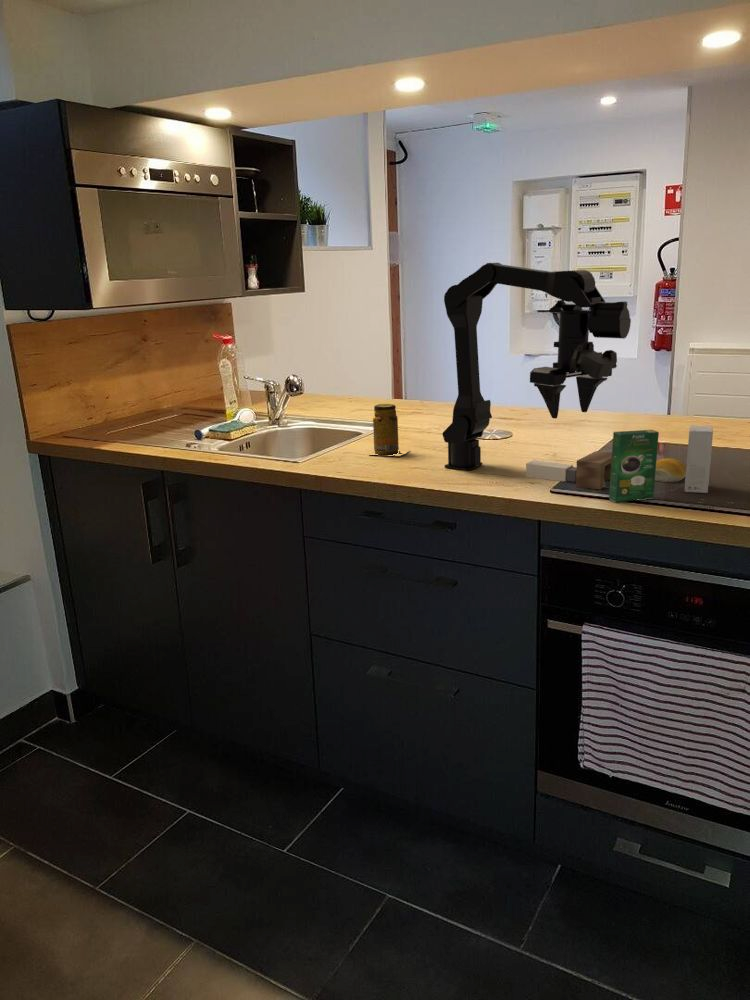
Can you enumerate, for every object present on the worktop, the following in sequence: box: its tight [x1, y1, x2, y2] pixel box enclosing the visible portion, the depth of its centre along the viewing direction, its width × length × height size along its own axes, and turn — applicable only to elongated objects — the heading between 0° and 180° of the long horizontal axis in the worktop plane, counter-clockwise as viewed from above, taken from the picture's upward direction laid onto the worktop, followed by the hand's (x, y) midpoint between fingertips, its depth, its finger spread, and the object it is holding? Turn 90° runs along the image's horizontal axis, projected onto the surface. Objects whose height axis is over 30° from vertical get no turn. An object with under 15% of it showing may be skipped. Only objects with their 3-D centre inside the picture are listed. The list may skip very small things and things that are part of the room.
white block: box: [525, 459, 577, 483], centre depth 165 cm, size 11×4×3 cm, turn 51°
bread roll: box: [655, 457, 686, 483], centre depth 162 cm, size 8×9×4 cm
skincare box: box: [684, 424, 714, 494], centre depth 151 cm, size 6×4×12 cm
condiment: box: [372, 403, 401, 458], centre depth 191 cm, size 7×8×12 cm
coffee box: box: [608, 429, 660, 503], centre depth 146 cm, size 8×3×13 cm, turn 101°
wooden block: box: [575, 450, 612, 490], centre depth 159 cm, size 5×10×5 cm, turn 143°
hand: (569, 415), depth 159 cm, fingers open, 9 cm apart
